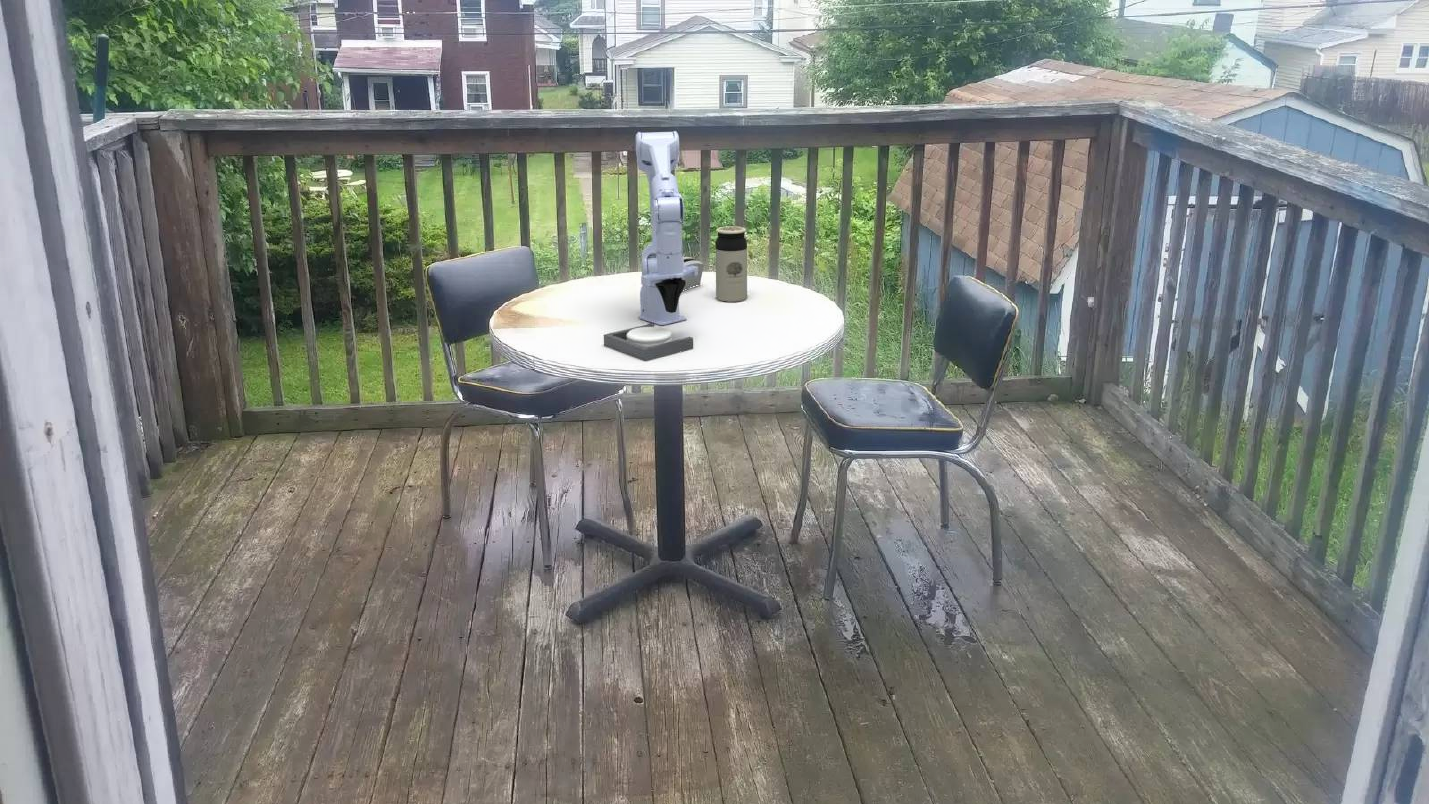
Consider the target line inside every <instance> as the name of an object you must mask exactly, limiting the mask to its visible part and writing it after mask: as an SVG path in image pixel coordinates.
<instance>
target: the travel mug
mask: <svg viewBox="0 0 1429 804" xmlns="http://www.w3.org/2000/svg"><path fill="white" fill-rule="evenodd" d="M715 231H716V232H717V239H716V240H715V298H716V300H718V301H721V302H724V301H727V302H726V303H738V301H739V302H742V301H745V300H746V299H747V298H748V241H747V239H746V237H745V233H746V231H747V228H746V227H742V226H738V225H737V226H736V225H735V226H734V225H733V226H732V225H730V226H728V225H727V226H722V227H721V226H720V227H718V228H716V230H715Z"/></svg>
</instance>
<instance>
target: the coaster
mask: <svg viewBox="0 0 1429 804" xmlns="http://www.w3.org/2000/svg"><path fill="white" fill-rule="evenodd" d="M672 335H673V334H672V332H671V330H670V329H668V328H664V327H660V326H654V327H641V328H636V329H633V330H631V331H629V332H628V333H627V341H630V342H632V343H635V344H638V345H641V346H643V347H646V348H647V347H651V346H655V345H659V344H662V343H666V342H670V341H673V340H672Z"/></svg>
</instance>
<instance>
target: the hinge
mask: <svg viewBox="0 0 1429 804" xmlns="http://www.w3.org/2000/svg"><path fill="white" fill-rule="evenodd" d="M683 260H684V267H686V266H692V265H693V266H696V267H698V275H697V276H693V275H692V276H687V277H684V279H683V280H685V281H686V285H685V287H684V288H683V290H685V289H688V288H690V287H693V286H696V285H699V286H701V281H702V276H703V271H704V267H705V265H704V263H702V261H700V260H698V259H697V258H694V257H690V256H683ZM696 287H697V286H696ZM683 290H682V292H684V291H683ZM688 290H689V289H688ZM685 291H686V290H685Z"/></svg>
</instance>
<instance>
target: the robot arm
mask: <svg viewBox="0 0 1429 804" xmlns="http://www.w3.org/2000/svg"><path fill="white" fill-rule="evenodd" d="M635 156H636V165H637V166H638V167H637V169H638V170H639V171H641V172H642V173H645V175H646V178H647V182H648V194H649V195H648V197H649V210H650V225H651V226H650V227H651V243H650V244H648V245H647V246H646V247H644V248H643V249H642V251H641V266H640V267H641V276H640V281H641V282H640V284H641V287H640V292H639V298H640V300H639V302H640V303H639V304H640V315H637V318H638V319H640V320H643V321H647V322H650V323H651V324H655V325H658V326H665V325H669V324H675V323H678V322H681V321H686V320H687V319H688V318H687V317H686V316H683V315H681V314H680V304H679V303H680V297H681V294H682V293H683V291H682V290H683V288H684V287H685V285H686V281H685V280H683V279H684V277H687V276H692V275H693V276H697V275H698V267H696V266H693V265H692V266H686V267H684V260H683V257H684V256H683V223H684V220H685V219H684V218H685V204H684V199H683V196H682V195H681V193H680V192H679V185H678V180H677V178H676V176H675V175H674V174H672V171H674V170H676V169H677V165H678V163H679V157H680V136H679V134H678V132H677V131H676V130H674V131H660V132H659V131H658V132H657V131H656V132H655V131H654V132H653V131H651V132H641V131H638V132H637V133H636V134H635Z"/></svg>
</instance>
